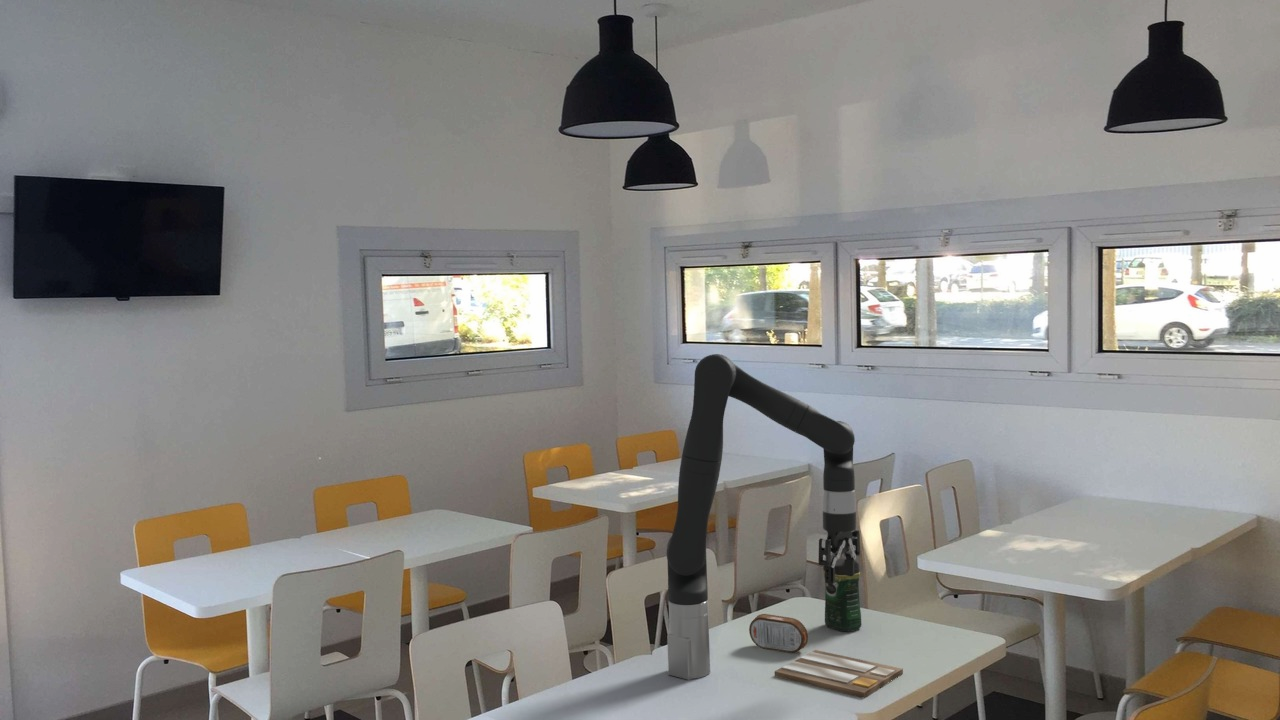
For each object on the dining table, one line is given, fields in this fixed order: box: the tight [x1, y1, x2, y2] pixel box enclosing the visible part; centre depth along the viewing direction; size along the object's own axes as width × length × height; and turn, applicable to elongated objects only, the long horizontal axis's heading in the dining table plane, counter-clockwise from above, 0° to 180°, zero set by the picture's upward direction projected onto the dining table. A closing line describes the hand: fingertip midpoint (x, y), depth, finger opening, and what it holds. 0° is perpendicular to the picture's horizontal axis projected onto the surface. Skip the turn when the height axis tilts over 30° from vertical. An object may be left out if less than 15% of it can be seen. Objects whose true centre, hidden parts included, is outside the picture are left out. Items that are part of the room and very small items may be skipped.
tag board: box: [774, 649, 904, 699], centre depth 235 cm, size 18×23×2 cm
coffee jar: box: [822, 555, 862, 632], centre depth 270 cm, size 10×8×19 cm
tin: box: [748, 613, 809, 654], centre depth 254 cm, size 15×3×8 cm, turn 58°
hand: (839, 579), depth 234 cm, fingers open, 8 cm apart
